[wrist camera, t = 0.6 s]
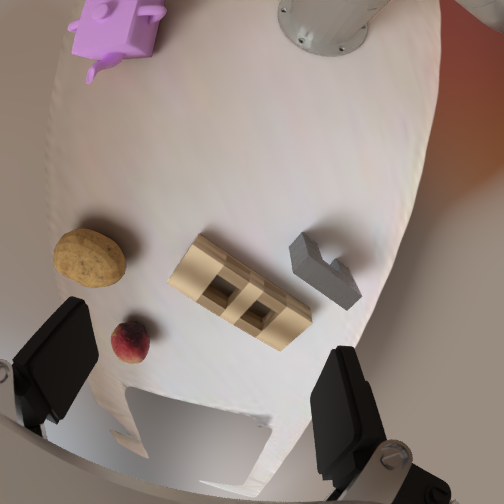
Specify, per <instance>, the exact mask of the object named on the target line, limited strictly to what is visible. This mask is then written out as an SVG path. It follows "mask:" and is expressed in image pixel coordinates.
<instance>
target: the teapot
mask: <svg viewBox="0 0 504 504" xmlns="http://www.w3.org/2000/svg"><path fill="white" fill-rule="evenodd" d="M165 1H166V0H86V2H85V5H84V8H83V11H82V14H81V17H80V19H77V20H75V21H73V22H71V23H70V24H69V26H68V31H70V32H76V35H75V39H74V43H73V48H72V54H74V55H78V56H82V57H86V58H89V59H93V60H97V61H99V62H96V63H94V64H93V65H92V66H91V67H90V69H89V71H88V73H87V78H86V81H87V84H90V83H91V82H92V80H93V79H94V77H95V75H96V74H97V73H98V72H99V71H100V70H103V69H108V68H111V67H114V66H116V65H117V64H119V63H120V62H121V60H122V59H131V58H145V57H152V53H153V48H154V44H155V39H156V35H157V31H158V27H159V23H160V19H162V18H163V17H164V16H165V14H166V11H167V9H166V8H165V7H164V4H165Z"/></svg>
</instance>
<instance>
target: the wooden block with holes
mask: <svg viewBox="0 0 504 504" xmlns="http://www.w3.org/2000/svg"><path fill="white" fill-rule="evenodd" d="M167 283H168V284H169V285H171V286H172V287H174V288H175V289H177V290H178V291H180V292H181V293H183V294H184V295H186V296H187V297H189V298H191V299H192V300H194V301H195V302H197V303H198V304H200V305H202V306H203V307H205V308H206V309H208V310H210V311H211V312H213V313H215V314H216V315H218V316H219V317H221V318H223V319H224V320H226V321H228V322H229V323H231V324H233V325H234V326H236V327H238V328H240V329H241V330H243V331H245V332H246V333H248V334H250V335H252V336H253V337H255V338H257V339H259V340H260V341H262V342H264V343H266V344H268V345H269V346H271V347H273V348H275V349H277V350H278V351H282V350H283V349H284V348H285V347H286V346H287V345H288V344H290V343H291V342H292V341H293V340H294V339H295V338H296V337H297V336H299V335H300V334H301V333H302V332H303V331H304V330H305V329H306V328H307V327H309V326H310V325H311V324H312V318H311V313H310V308H309V307H307V306H306V305H304V304H303V303H301V302H299V301H298V300H296V299H295V298H293V297H292V296H290V295H289V294H287V293H286V292H284V291H283V290H281V289H280V288H278V287H277V286H275V285H274V284H272V283H271V282H269V281H268V280H266V279H265V278H263V277H262V276H260V275H259V274H257V273H256V272H254V271H253V270H251V269H250V268H248V267H247V266H245V265H244V264H243V263H241V262H240V261H238V260H237V259H235V258H234V257H232V256H231V255H229V254H228V253H226V252H225V251H223V250H222V249H220V248H219V247H217V246H216V245H214V244H213V243H212V242H210V241H209V240H207V239H206V238H204V237H203V236H201V235H200V234H199V235H198V236H197V238H196V239H195V241H194V242H193V243H192V245H191V246H190V248H189V249H188V251H187V252H186V254H185V255H184V257H183V258H182V260H181V261H180V263H179V264H178V266H177V267H176V269H175V270H174V272H173V274H172V275H171V277H170V279H169V280H168V282H167Z"/></svg>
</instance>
